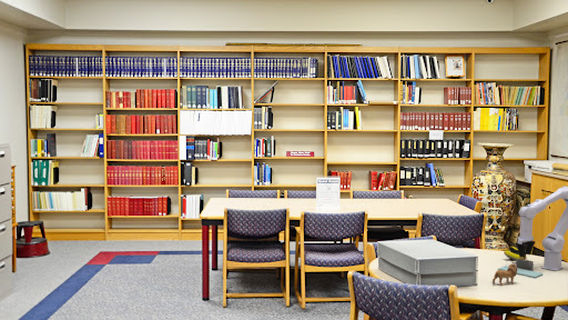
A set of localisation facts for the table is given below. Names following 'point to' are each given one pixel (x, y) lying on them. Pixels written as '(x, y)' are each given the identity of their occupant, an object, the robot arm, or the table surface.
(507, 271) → the lion figurine
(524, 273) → the desk mat
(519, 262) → the connector
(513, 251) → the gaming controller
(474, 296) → the table surface
